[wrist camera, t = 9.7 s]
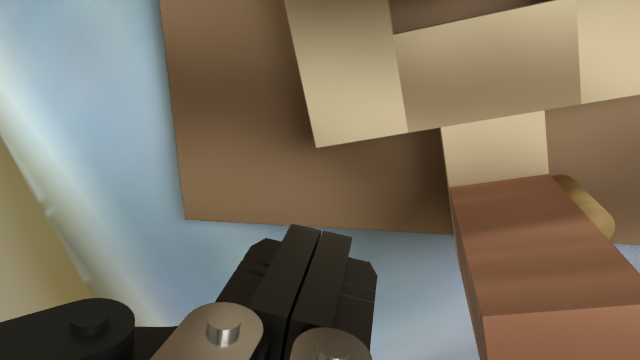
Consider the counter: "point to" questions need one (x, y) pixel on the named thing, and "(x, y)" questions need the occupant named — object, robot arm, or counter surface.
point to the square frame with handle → (493, 152)
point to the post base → (360, 156)
